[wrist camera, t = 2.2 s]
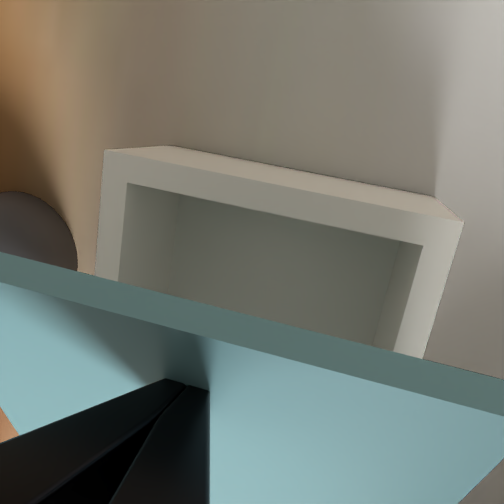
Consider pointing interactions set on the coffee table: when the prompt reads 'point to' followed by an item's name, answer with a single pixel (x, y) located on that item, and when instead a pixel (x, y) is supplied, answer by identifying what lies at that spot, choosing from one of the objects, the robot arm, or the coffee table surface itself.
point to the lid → (251, 391)
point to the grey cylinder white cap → (35, 231)
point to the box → (277, 243)
